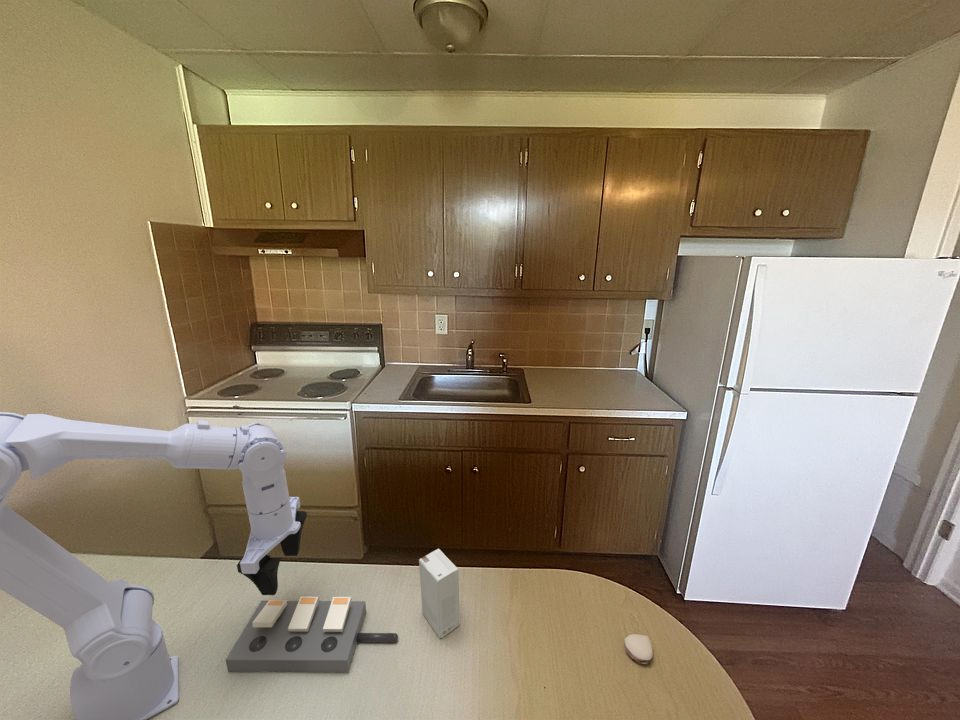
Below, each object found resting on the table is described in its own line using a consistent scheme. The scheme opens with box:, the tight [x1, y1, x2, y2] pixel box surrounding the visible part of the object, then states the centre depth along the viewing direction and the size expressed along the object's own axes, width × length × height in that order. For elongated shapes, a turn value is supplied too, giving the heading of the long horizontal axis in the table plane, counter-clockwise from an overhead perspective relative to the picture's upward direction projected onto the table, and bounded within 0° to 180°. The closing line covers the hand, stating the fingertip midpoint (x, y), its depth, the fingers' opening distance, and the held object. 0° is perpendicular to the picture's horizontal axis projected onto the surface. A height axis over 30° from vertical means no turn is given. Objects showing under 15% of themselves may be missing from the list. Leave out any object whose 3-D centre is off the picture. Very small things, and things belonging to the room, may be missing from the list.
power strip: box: [225, 599, 399, 674], centre depth 63 cm, size 25×10×3 cm, turn 91°
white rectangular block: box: [252, 599, 288, 627], centre depth 63 cm, size 3×5×1 cm, turn 1°
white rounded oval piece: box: [623, 633, 654, 665], centre depth 62 cm, size 4×5×2 cm
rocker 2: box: [323, 596, 352, 632], centre depth 63 cm, size 3×5×1 cm, turn 1°
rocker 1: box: [288, 596, 320, 632], centre depth 63 cm, size 3×5×1 cm, turn 1°
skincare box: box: [418, 548, 461, 639], centre depth 65 cm, size 6×4×12 cm
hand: (281, 572), depth 63 cm, fingers open, 7 cm apart
